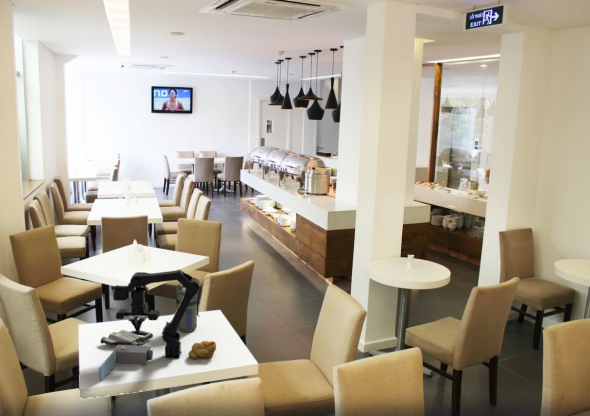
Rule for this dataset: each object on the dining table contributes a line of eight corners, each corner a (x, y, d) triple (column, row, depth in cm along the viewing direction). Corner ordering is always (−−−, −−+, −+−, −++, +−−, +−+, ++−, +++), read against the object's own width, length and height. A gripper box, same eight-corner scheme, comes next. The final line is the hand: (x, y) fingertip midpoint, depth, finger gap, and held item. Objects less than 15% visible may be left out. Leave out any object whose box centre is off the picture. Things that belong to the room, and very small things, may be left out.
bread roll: (189, 362, 231) (190, 346, 230) (186, 353, 240) (186, 337, 238) (217, 358, 236) (217, 342, 235) (212, 349, 245) (212, 334, 243)
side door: (102, 380, 212) (102, 366, 211) (98, 379, 212) (98, 366, 211) (116, 363, 226) (115, 351, 225) (112, 363, 226) (112, 351, 225)
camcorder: (137, 353, 238) (137, 342, 237) (99, 346, 243) (99, 336, 242) (154, 339, 254) (154, 329, 253) (118, 333, 258) (117, 324, 257)
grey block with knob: (153, 358, 234) (153, 344, 232) (149, 365, 227) (149, 351, 226) (118, 356, 233) (117, 343, 232) (112, 364, 226) (112, 350, 225)
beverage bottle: (203, 330, 266) (203, 285, 262) (178, 334, 260) (178, 288, 256) (198, 323, 275) (199, 279, 271) (174, 326, 269) (174, 282, 265)
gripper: (162, 294, 238) (162, 325, 241) (123, 293, 238) (123, 324, 241) (156, 303, 227) (156, 335, 230) (115, 301, 227) (115, 334, 230)
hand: (138, 332), depth 233 cm, fingers closed
